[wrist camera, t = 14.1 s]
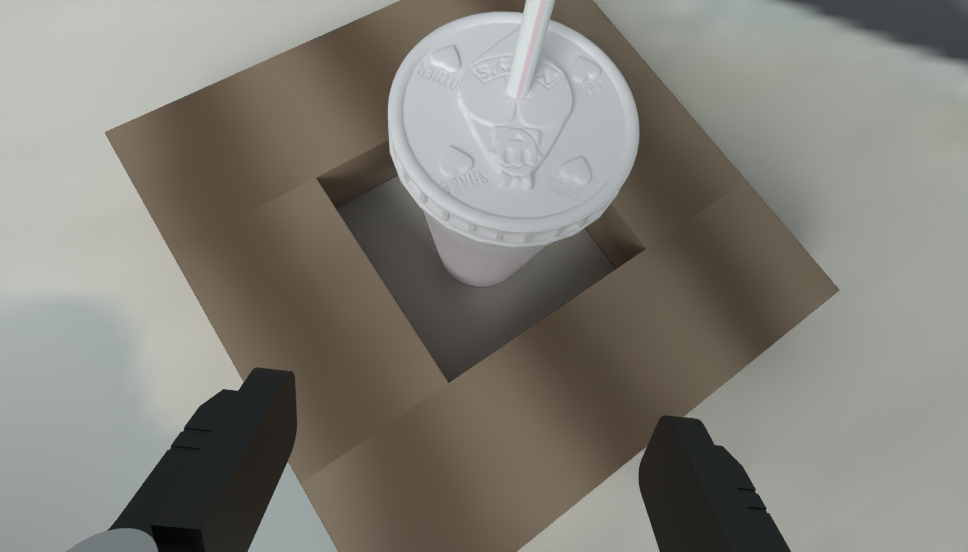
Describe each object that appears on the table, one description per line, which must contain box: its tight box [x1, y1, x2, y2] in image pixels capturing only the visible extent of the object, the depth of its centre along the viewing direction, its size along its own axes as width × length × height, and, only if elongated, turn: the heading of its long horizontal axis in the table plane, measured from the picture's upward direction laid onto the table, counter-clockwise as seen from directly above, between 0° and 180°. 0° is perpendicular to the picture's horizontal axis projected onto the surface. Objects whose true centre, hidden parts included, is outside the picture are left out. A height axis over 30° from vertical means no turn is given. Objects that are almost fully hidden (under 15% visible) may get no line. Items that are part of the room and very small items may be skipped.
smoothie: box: [388, 0, 639, 287], centre depth 14 cm, size 6×6×14 cm
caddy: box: [104, 0, 839, 552], centre depth 20 cm, size 20×20×3 cm
